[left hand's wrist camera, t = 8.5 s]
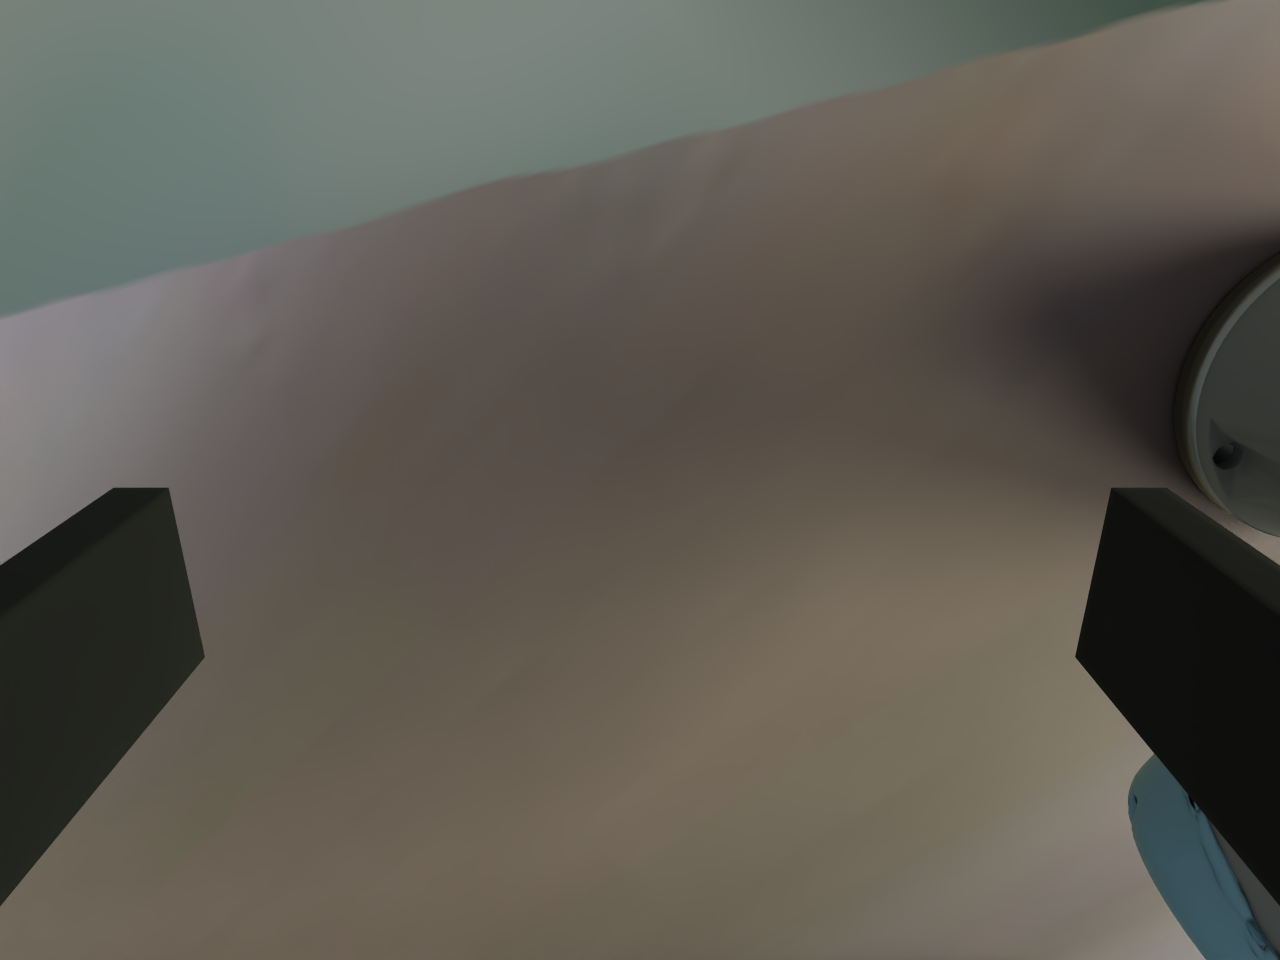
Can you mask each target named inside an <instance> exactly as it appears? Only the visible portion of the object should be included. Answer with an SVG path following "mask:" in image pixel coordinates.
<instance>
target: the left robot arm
mask: <svg viewBox="0 0 1280 960" xmlns="http://www.w3.org/2000/svg"><path fill="white" fill-rule="evenodd" d="M1174 427H1175V436H1176V442H1177V447H1178V450H1179V453H1180V456H1181V459H1182V462H1183V464H1184V466H1185V468H1186V470H1187V472H1188V474H1189V475H1190V477H1191V478H1192V480H1193V482H1194V483H1195V484H1196V485H1197V487H1198V488H1199V489H1200V490H1201V491H1202V492H1203V493H1204V494H1205V495H1206V496H1207V497H1208V498H1209V499H1210V500H1211V501H1213V502H1214V503H1215V504H1217V505H1218V506H1219V507H1221V508H1222V509H1224V510H1225V511H1227V512H1228V513H1230V514H1231V515H1233V516H1234V517H1236V518H1237V519H1239V520H1241V521H1242V522H1244V523H1246V524H1247V525H1249V526H1251V527H1253V528H1255V529H1257V530H1260V531H1262V532H1264V533H1267V534H1270V535H1274V536H1277V537H1280V254H1278V255H1276V256H1275V257H1273V258H1272V259H1270V260H1269V261H1267V262H1266V263H1264V264H1263V265H1261V266H1260V267H1259V268H1257V269H1256V270H1255V271H1254V272H1252V273H1251V274H1250V275H1249V276H1247V277H1246V278H1245V279H1244V280H1243V281H1242V282H1241V283H1240V284H1239V285H1238V286H1237V287H1235V288H1234V289H1233V290H1232V291H1231V292H1230V293H1229V295H1228V296H1227V297H1226V298H1225V299H1224V300H1223V301H1222V302H1221V303H1220V305H1219V306H1218V307H1217V308H1216V310H1215V311H1214V312H1213V313H1212V315H1211V316H1210V317H1209V319H1208V320H1207V322H1206V323H1205V325H1204V326H1203V328H1202V329H1201V331H1200V332H1199V334H1198V336H1197V338H1196V340H1195V342H1194V343H1193V345H1192V347H1191V349H1190V352H1189V354H1188V356H1187V358H1186V361H1185V363H1184V366H1183V369H1182V372H1181V375H1180V379H1179V383H1178V387H1177V391H1176V398H1175V406H1174ZM204 657H205V656H204V651H203V646H202V642H201V637H200V632H199V628H198V623H197V618H196V614H195V609H194V604H193V600H192V595H191V590H190V586H189V581H188V576H187V572H186V567H185V562H184V558H183V553H182V548H181V544H180V539H179V534H178V529H177V525H176V520H175V515H174V511H173V506H172V501H171V497H170V492H169V488H113V489H111V490H110V491H108V492H107V493H105V494H104V495H102V496H101V497H99V498H98V499H96V500H95V501H94V502H92V503H91V504H89V505H88V506H86V507H85V508H83V509H82V510H80V511H79V512H78V513H76V514H75V515H73V516H72V517H70V518H69V519H67V520H66V521H64V522H63V523H62V524H60V525H59V526H57V527H56V528H54V529H53V530H51V531H50V532H48V533H47V534H45V535H44V536H43V537H41V538H40V539H38V540H37V541H35V542H34V543H32V544H31V545H29V546H28V547H27V548H25V549H24V550H22V551H21V552H19V553H18V554H16V555H15V556H13V557H12V558H10V559H9V560H8V561H6V562H5V563H3V564H2V565H0V906H1V905H2V903H3V902H4V901H5V900H6V899H7V897H8V896H9V895H10V894H11V892H12V891H13V890H14V889H15V888H16V886H17V885H18V884H19V883H20V881H21V880H22V879H23V878H24V877H25V875H26V874H27V873H28V872H29V871H30V869H31V868H32V867H33V866H34V864H35V863H36V862H37V861H38V860H39V858H40V857H41V856H42V855H43V853H44V852H45V851H46V850H47V849H48V847H49V846H50V845H51V844H52V842H53V841H54V840H55V839H56V838H57V836H58V835H59V834H60V833H61V832H62V830H63V829H64V828H65V827H66V825H67V824H68V823H69V822H70V821H71V819H72V818H73V817H74V816H75V814H76V813H77V812H78V811H79V810H80V808H81V807H82V806H83V805H84V804H85V802H86V801H87V800H88V799H89V797H90V796H91V795H92V794H93V793H94V791H95V790H96V789H97V788H98V786H99V785H100V784H101V783H102V782H103V780H104V779H105V778H106V777H107V775H108V774H109V773H110V772H111V771H112V769H113V768H114V767H115V766H116V765H117V763H118V762H119V761H120V760H121V758H122V757H123V756H124V755H125V754H126V752H127V751H128V750H129V749H130V747H131V746H132V745H133V744H134V743H135V741H136V740H137V739H138V738H139V737H140V735H141V734H142V733H143V732H144V730H145V729H146V728H147V727H148V726H149V724H150V723H151V722H152V721H153V719H154V718H155V717H156V716H157V715H158V713H159V712H160V711H161V710H162V708H163V707H164V706H165V705H166V704H167V702H168V701H169V700H170V699H171V698H172V696H173V695H174V694H175V693H176V691H177V690H178V689H179V688H180V687H181V685H182V684H183V683H184V682H185V680H186V679H187V678H188V677H189V676H190V674H191V673H192V672H193V671H194V670H195V668H196V667H197V666H198V665H199V663H200V662H201V661H202V660H203V659H204ZM1075 657H1076V659H1077V660H1078V661H1079V662H1080V663H1081V665H1082V666H1083V667H1084V668H1085V670H1086V671H1087V672H1088V673H1089V674H1090V676H1091V677H1092V678H1093V679H1094V680H1095V682H1096V683H1097V684H1098V685H1099V687H1100V688H1101V689H1102V690H1103V691H1104V693H1105V694H1106V695H1107V696H1108V698H1109V699H1110V700H1111V701H1112V702H1113V704H1114V705H1115V706H1116V707H1117V708H1118V710H1119V711H1120V712H1121V713H1122V715H1123V716H1124V717H1125V718H1126V719H1127V721H1128V722H1129V723H1130V724H1131V726H1132V727H1133V728H1134V729H1135V730H1136V732H1137V733H1138V734H1139V735H1140V737H1141V738H1142V739H1143V740H1144V741H1145V743H1146V744H1147V745H1148V746H1149V747H1150V749H1151V750H1152V751H1153V752H1154V755H1153V756H1152V757H1151V758H1150V759H1149V760H1148V761H1147V762H1146V763H1145V764H1144V765H1143V766H1142V767H1141V769H1140V770H1139V771H1138V772H1137V774H1136V775H1135V777H1134V779H1133V781H1132V783H1131V786H1130V790H1129V795H1128V806H1129V812H1128V814H1129V818H1130V821H1131V824H1132V832H1133V837H1134V840H1135V843H1136V845H1137V848H1138V850H1139V853H1140V855H1141V858H1142V860H1143V862H1144V864H1145V866H1146V868H1147V870H1148V872H1149V874H1150V876H1151V878H1152V880H1153V882H1154V883H1155V885H1156V887H1157V889H1158V890H1159V892H1160V894H1161V895H1162V897H1163V899H1164V901H1165V902H1166V904H1167V905H1168V907H1169V908H1170V910H1171V911H1172V913H1173V915H1174V916H1175V918H1176V919H1177V920H1178V922H1179V923H1180V925H1181V926H1182V928H1183V929H1184V931H1185V932H1186V934H1187V935H1188V936H1189V938H1190V939H1191V940H1192V942H1193V943H1194V944H1195V946H1196V947H1197V948H1198V950H1199V951H1200V952H1201V954H1202V955H1203V956H1204V958H1205V959H1206V960H1280V565H1278V564H1277V563H1275V562H1274V561H1272V560H1271V559H1270V558H1268V557H1267V556H1265V555H1264V554H1262V553H1261V552H1259V551H1258V550H1256V549H1255V548H1253V547H1252V546H1251V545H1249V544H1248V543H1246V542H1245V541H1243V540H1242V539H1240V538H1239V537H1237V536H1236V535H1235V534H1233V533H1232V532H1230V531H1229V530H1227V529H1226V528H1224V527H1223V526H1221V525H1220V524H1218V523H1217V522H1216V521H1214V520H1213V519H1211V518H1210V517H1208V516H1207V515H1205V514H1204V513H1202V512H1201V511H1200V510H1198V509H1197V508H1195V507H1194V506H1192V505H1191V504H1189V503H1188V502H1186V501H1185V500H1184V499H1182V498H1181V497H1179V496H1178V495H1176V494H1175V493H1173V492H1172V491H1170V490H1169V489H1167V488H1111V492H1110V497H1109V501H1108V506H1107V511H1106V515H1105V520H1104V525H1103V529H1102V534H1101V539H1100V544H1099V548H1098V553H1097V558H1096V562H1095V567H1094V572H1093V576H1092V581H1091V586H1090V590H1089V595H1088V600H1087V604H1086V609H1085V614H1084V618H1083V623H1082V628H1081V632H1080V637H1079V642H1078V646H1077V651H1076V656H1075Z"/></svg>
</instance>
